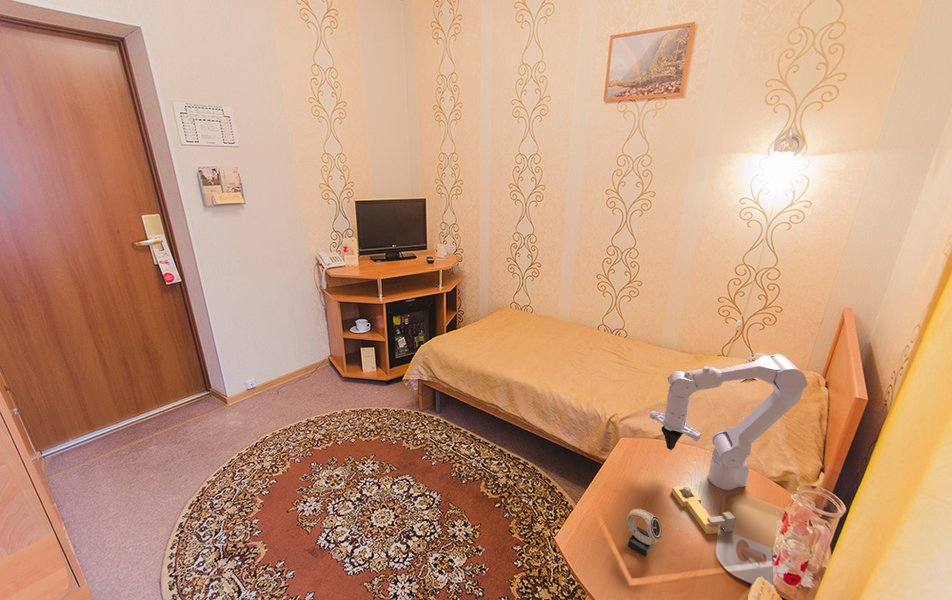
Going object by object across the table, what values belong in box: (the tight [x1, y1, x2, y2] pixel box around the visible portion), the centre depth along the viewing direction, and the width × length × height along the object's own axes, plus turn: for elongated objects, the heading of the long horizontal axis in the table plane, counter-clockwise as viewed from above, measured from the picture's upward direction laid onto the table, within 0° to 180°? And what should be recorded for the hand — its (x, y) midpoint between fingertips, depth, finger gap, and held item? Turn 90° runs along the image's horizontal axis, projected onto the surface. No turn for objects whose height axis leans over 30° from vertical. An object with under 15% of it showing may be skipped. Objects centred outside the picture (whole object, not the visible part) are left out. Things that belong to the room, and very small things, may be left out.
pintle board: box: [682, 487, 736, 533], centre depth 108 cm, size 20×17×6 cm
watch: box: [626, 507, 662, 557], centre depth 97 cm, size 6×8×11 cm
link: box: [671, 485, 720, 535], centre depth 107 cm, size 14×5×2 cm, turn 5°
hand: (670, 447), depth 119 cm, fingers closed
